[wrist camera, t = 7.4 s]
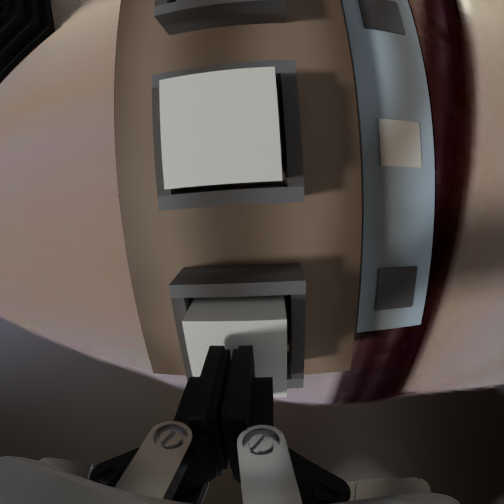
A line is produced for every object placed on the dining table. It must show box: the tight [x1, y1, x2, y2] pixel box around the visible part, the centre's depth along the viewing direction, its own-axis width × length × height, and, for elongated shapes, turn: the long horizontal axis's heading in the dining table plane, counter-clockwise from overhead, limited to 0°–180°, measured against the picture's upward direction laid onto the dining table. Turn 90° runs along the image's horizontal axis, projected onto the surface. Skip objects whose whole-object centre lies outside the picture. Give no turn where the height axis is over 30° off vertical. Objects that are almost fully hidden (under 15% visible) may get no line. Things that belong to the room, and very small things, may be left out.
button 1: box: [182, 295, 287, 397], centre depth 13 cm, size 4×4×2 cm
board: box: [114, 0, 435, 388], centre depth 13 cm, size 18×26×5 cm
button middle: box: [159, 67, 282, 190], centre depth 10 cm, size 4×4×2 cm
